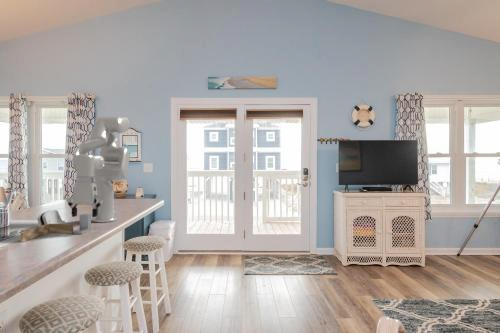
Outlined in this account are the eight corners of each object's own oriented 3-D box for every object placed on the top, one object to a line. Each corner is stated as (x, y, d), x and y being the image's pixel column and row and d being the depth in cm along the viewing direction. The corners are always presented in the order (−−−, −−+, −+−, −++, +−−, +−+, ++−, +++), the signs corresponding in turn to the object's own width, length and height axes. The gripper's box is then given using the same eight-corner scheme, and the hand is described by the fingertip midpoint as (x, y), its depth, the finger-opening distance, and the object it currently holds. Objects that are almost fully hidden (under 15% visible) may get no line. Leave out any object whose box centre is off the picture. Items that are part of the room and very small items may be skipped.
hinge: (52, 231, 156) (44, 212, 156) (42, 235, 156) (34, 215, 155) (66, 224, 173) (59, 206, 172) (57, 227, 172) (50, 209, 171)
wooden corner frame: (48, 232, 156) (48, 223, 156) (73, 232, 156) (73, 224, 155) (20, 241, 138) (20, 232, 138) (48, 242, 138) (48, 232, 137)
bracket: (82, 230, 161) (82, 213, 161) (91, 230, 161) (91, 213, 161) (73, 233, 153) (73, 216, 153) (82, 234, 153) (82, 216, 153)
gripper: (106, 180, 162) (106, 215, 162) (71, 180, 162) (71, 215, 162) (99, 181, 154) (98, 218, 154) (62, 180, 155) (62, 217, 155)
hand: (84, 216), depth 158 cm, fingers open, 9 cm apart
